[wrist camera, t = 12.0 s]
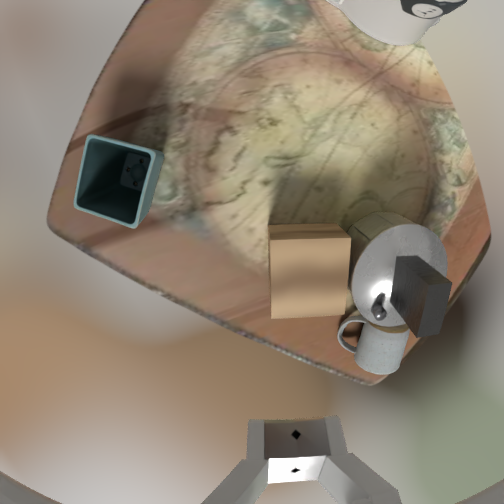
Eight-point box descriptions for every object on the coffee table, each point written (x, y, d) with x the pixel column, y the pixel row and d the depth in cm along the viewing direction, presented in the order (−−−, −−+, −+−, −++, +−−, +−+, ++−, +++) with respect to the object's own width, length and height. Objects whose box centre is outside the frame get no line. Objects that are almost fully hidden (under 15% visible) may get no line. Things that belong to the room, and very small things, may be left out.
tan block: (267, 224, 40) (270, 240, 33) (336, 223, 40) (351, 237, 33) (269, 293, 43) (271, 318, 37) (332, 290, 43) (344, 314, 36)
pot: (340, 212, 39) (356, 225, 32) (422, 212, 39) (447, 224, 32) (335, 299, 43) (347, 324, 37) (411, 293, 43) (431, 314, 36)
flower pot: (160, 212, 39) (136, 230, 31) (105, 194, 39) (71, 207, 30) (178, 150, 37) (156, 151, 28) (120, 134, 36) (87, 133, 27)
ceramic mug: (401, 305, 44) (421, 330, 36) (389, 346, 46) (404, 374, 39) (340, 305, 44) (353, 333, 37) (331, 348, 47) (341, 379, 39)
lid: (354, 223, 32) (385, 248, 24) (451, 222, 32) (493, 244, 23) (345, 328, 36) (364, 372, 28) (433, 317, 36) (463, 353, 28)
